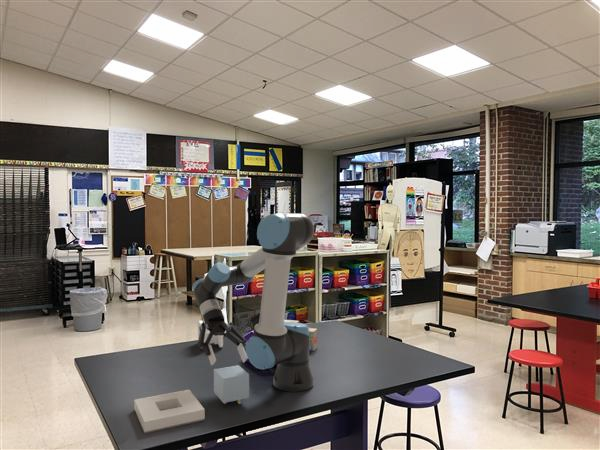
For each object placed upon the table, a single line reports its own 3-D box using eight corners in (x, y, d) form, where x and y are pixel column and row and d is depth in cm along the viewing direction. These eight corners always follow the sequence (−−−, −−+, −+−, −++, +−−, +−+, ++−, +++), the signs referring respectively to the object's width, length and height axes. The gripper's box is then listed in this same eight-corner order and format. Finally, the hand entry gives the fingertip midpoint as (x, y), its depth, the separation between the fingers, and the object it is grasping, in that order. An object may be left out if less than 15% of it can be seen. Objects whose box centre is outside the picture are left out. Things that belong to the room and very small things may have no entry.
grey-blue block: (249, 404, 155) (249, 374, 154) (223, 410, 150) (223, 378, 150) (238, 394, 164) (238, 365, 163) (213, 399, 159) (213, 369, 159)
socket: (204, 420, 143) (204, 409, 143) (144, 433, 135) (144, 421, 135) (189, 399, 159) (189, 389, 159) (134, 410, 150) (134, 399, 150)
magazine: (267, 342, 222) (260, 312, 226) (254, 348, 232) (248, 319, 236) (273, 341, 224) (266, 311, 229) (261, 346, 234) (254, 318, 239)
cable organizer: (223, 349, 216) (223, 324, 216) (200, 351, 213) (200, 326, 212) (218, 340, 230) (218, 317, 230) (196, 342, 227) (196, 319, 226)
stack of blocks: (317, 347, 220) (317, 322, 219) (313, 351, 214) (313, 325, 213) (276, 343, 227) (276, 318, 226) (271, 346, 221) (271, 321, 220)
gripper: (234, 319, 188) (252, 365, 175) (178, 320, 171) (194, 370, 159) (243, 308, 184) (262, 353, 172) (187, 307, 168) (204, 357, 155)
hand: (230, 361), depth 165 cm, fingers open, 13 cm apart
